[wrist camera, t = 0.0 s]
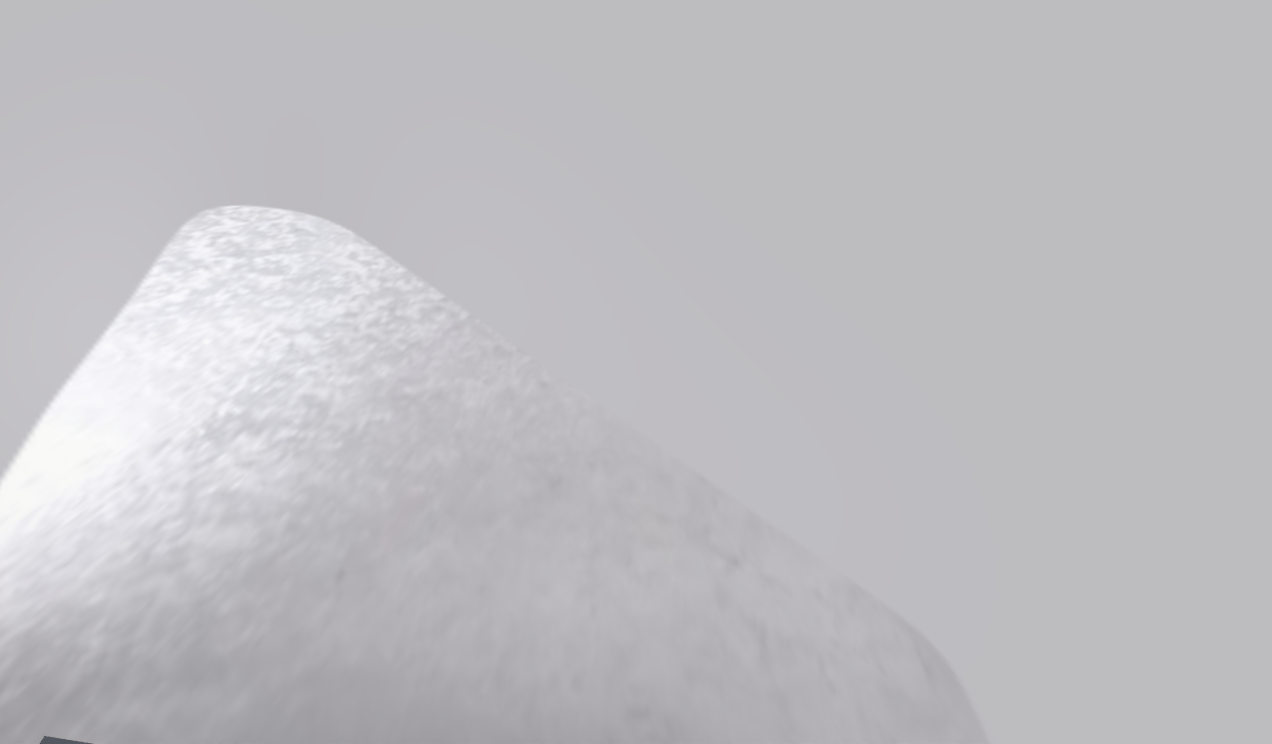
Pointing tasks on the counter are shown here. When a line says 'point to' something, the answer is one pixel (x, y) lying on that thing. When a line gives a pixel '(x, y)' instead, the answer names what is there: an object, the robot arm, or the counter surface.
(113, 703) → the counter surface
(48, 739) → the steel V-block
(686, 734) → the counter surface
